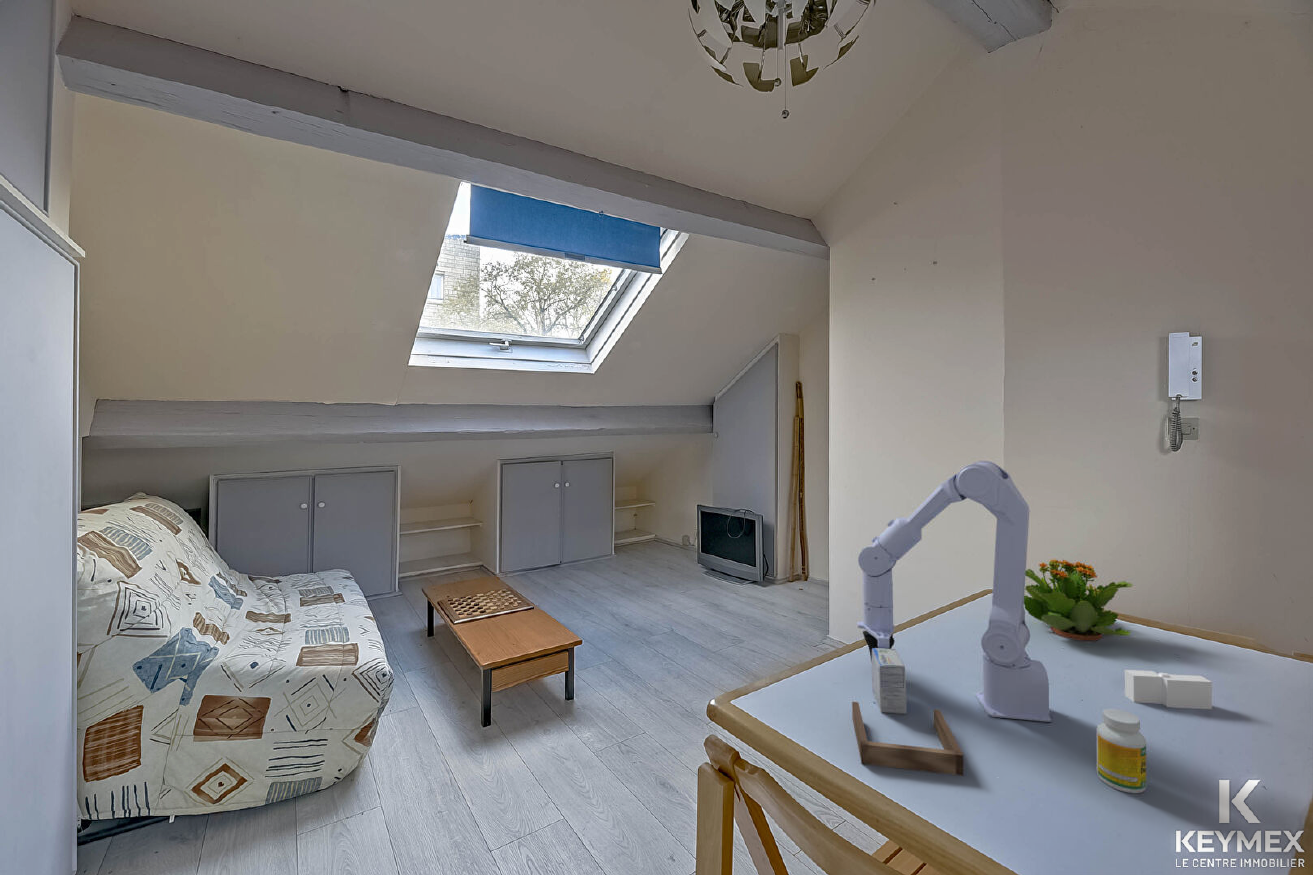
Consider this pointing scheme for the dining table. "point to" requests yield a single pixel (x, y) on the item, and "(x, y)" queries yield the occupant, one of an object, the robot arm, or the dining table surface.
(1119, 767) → the supplement bottle
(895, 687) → the medicine box
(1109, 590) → the potted flower
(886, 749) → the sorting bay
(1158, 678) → the white notched double block
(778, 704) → the dining table surface
